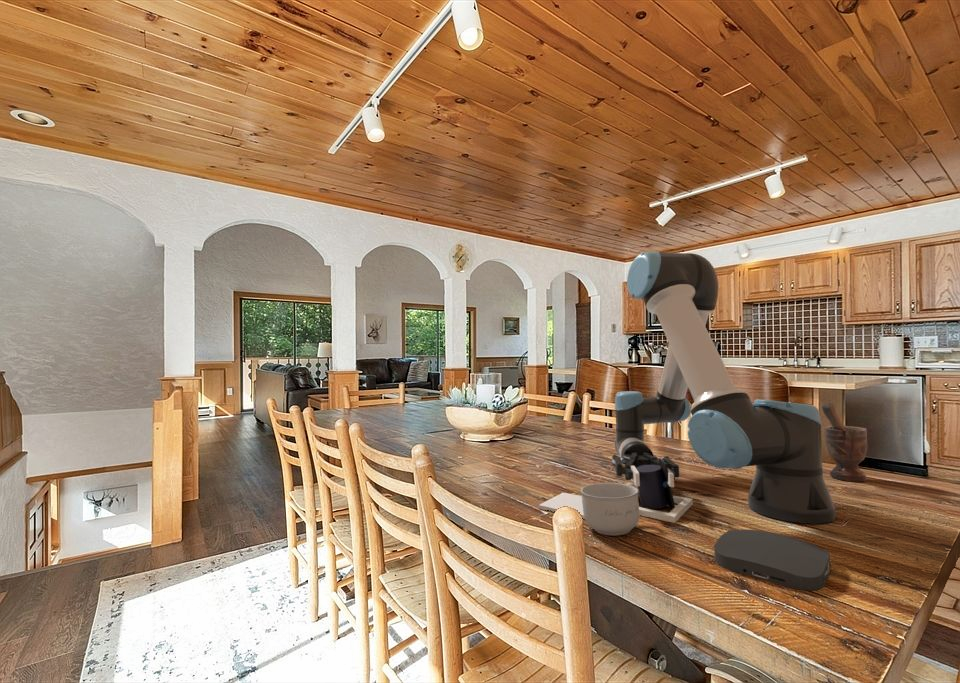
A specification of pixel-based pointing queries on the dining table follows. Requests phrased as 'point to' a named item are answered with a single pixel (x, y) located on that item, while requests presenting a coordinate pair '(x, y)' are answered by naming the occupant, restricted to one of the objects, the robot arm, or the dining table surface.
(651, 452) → the robot arm
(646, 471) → the speaker
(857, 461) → the mortar and pestle
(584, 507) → the teacup
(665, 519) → the picture frame
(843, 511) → the dining table surface
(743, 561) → the media streaming box
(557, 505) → the mat
